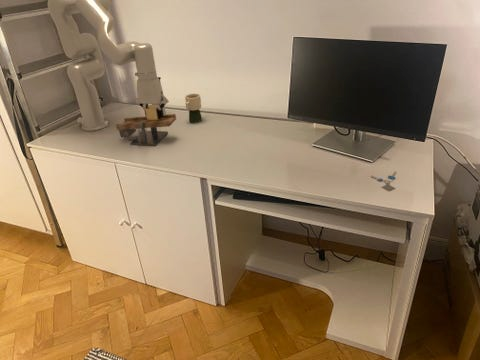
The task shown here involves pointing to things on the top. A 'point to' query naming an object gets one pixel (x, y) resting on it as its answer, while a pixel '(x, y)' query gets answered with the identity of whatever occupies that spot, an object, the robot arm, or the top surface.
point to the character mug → (193, 107)
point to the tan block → (152, 113)
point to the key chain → (387, 186)
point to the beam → (131, 124)
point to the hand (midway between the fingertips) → (154, 117)
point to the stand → (148, 136)
